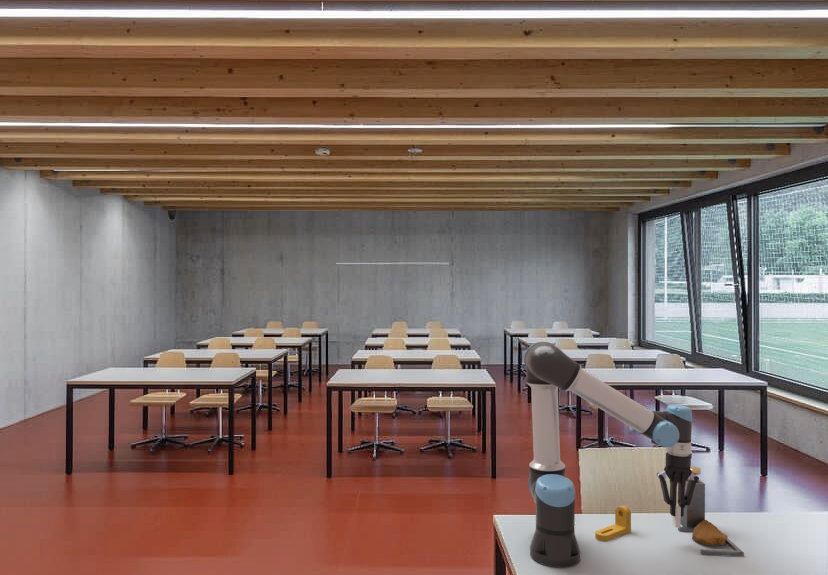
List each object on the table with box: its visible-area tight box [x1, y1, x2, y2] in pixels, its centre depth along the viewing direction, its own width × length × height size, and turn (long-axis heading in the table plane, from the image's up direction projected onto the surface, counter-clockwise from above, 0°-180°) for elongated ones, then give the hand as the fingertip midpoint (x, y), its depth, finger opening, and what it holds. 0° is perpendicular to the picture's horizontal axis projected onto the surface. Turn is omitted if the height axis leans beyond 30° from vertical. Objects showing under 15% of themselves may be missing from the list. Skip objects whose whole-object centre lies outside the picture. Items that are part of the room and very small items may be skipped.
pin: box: [690, 465, 702, 476], centre depth 203 cm, size 5×5×8 cm
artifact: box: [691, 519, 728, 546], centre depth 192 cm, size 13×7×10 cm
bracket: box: [594, 505, 632, 542], centre depth 196 cm, size 15×4×8 cm, turn 126°
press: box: [677, 478, 745, 557], centre depth 193 cm, size 13×25×16 cm, turn 177°
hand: (676, 525), depth 190 cm, fingers closed
